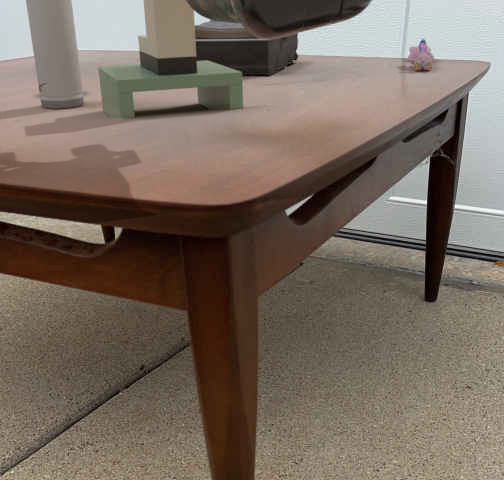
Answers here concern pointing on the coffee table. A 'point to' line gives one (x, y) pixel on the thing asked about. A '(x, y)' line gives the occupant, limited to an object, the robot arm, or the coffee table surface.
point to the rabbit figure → (421, 56)
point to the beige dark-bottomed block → (168, 38)
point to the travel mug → (55, 53)
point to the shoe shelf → (169, 86)
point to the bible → (243, 48)
